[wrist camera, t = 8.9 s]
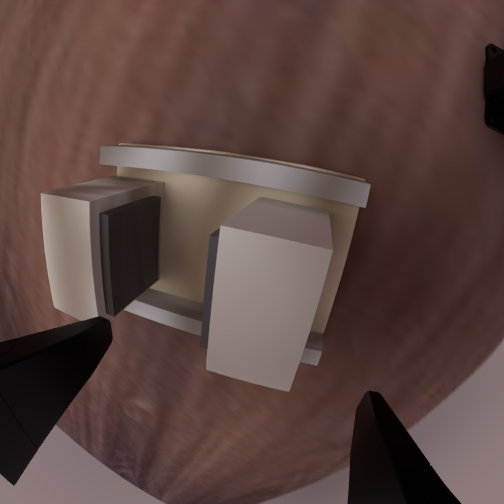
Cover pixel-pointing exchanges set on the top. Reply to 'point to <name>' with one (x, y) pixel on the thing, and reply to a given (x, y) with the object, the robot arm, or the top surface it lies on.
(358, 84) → the top surface
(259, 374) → the block
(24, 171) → the top surface
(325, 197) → the beige clamp block
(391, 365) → the top surface
